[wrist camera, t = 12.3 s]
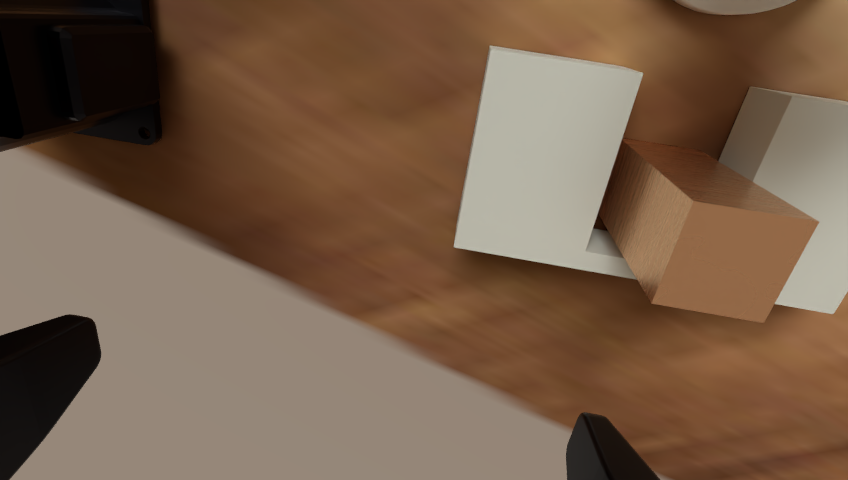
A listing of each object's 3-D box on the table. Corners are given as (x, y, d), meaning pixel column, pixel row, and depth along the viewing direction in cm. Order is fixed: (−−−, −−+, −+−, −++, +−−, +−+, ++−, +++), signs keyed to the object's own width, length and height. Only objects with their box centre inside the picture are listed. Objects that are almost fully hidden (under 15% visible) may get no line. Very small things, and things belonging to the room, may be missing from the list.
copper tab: (595, 209, 19) (651, 303, 13) (619, 137, 18) (693, 201, 11) (670, 222, 19) (764, 323, 13) (699, 149, 18) (819, 221, 11)
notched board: (456, 221, 20) (453, 247, 18) (489, 45, 17) (490, 49, 15) (792, 280, 19) (833, 314, 17) (888, 108, 16) (954, 122, 14)
